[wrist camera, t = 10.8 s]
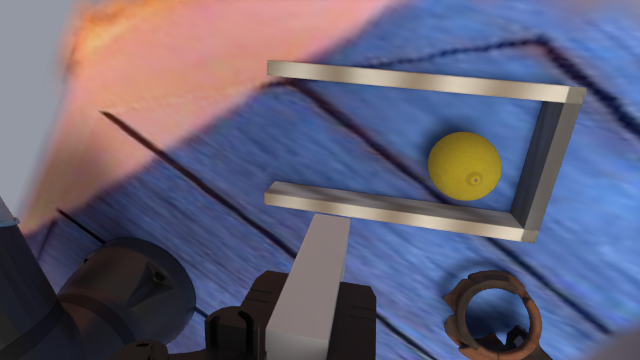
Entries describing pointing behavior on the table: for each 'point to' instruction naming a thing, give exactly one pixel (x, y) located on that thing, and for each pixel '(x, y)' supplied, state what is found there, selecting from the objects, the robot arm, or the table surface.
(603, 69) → the table surface
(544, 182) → the channel
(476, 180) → the lemon
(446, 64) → the table surface
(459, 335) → the brown open ring
